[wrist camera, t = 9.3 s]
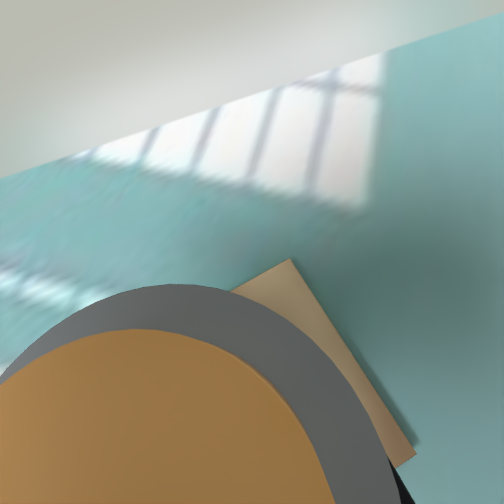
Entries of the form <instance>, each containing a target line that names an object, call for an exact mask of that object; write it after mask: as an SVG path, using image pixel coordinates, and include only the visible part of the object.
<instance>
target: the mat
mask: <svg viewBox="0 0 504 504" xmlns="http://www.w3.org/2000/svg"><path fill="white" fill-rule="evenodd" d="M230 292H231V293H235V294H238V295H241V296H244V297H246V298H248V299H250V300H253V301H255V302H257V303H259V304H262V305H264V306H266V307H267V308H269V309H271V310H272V311H274V312H276V313H277V314H279V315H281V316H282V317H284V318H285V319H287V320H289V321H290V322H291V323H292V324H294V325H295V326H296V327H297V328H298V329H300V330H301V331H302V332H303V333H305V334H306V335H307V336H308V337H310V338H311V339H312V340H313V341H314V342H315V343H316V344H317V345H318V346H319V347H320V349H321V350H322V351H323V352H324V353H325V354H326V355H327V356H328V357H329V358H330V359H331V360H332V361H333V362H334V364H335V365H336V366H337V368H338V369H339V370H340V372H341V373H342V374H343V376H344V377H345V378H346V379H347V381H348V382H349V383H350V385H351V386H352V388H353V389H354V391H355V393H356V394H357V396H358V398H359V400H360V401H361V403H362V405H363V406H364V408H365V410H366V411H367V413H368V415H369V416H370V419H371V421H372V423H373V425H374V427H375V429H376V432H377V434H378V436H379V438H380V440H381V443H382V445H383V447H384V449H385V452H386V454H387V456H388V457H389V459H390V461H391V463H392V464H393V466H394V468H397V467H398V466H400V465H401V464H403V463H404V462H406V461H407V460H409V459H410V458H412V457H413V456H415V455H416V454H417V453H416V452H415V450H414V449H413V447H412V446H411V444H410V443H409V441H408V440H407V438H406V436H405V435H404V433H403V432H402V430H401V429H400V427H399V426H398V424H397V423H396V421H395V420H394V418H393V416H392V415H391V413H390V412H389V410H388V409H387V407H386V406H385V404H384V403H383V401H382V400H381V398H380V396H379V395H378V393H377V392H376V390H375V389H374V387H373V386H372V384H371V383H370V381H369V380H368V378H367V376H366V375H365V373H364V372H363V370H362V369H361V367H360V366H359V364H358V363H357V361H356V360H355V358H354V356H353V355H352V353H351V352H350V350H349V349H348V347H347V346H346V344H345V343H344V341H343V340H342V338H341V336H340V335H339V333H338V332H337V330H336V329H335V327H334V326H333V324H332V323H331V321H330V320H329V318H328V316H327V315H326V313H325V312H324V310H323V309H322V307H321V306H320V304H319V303H318V301H317V300H316V298H315V296H314V295H313V293H312V292H311V290H310V289H309V287H308V286H307V284H306V283H305V281H304V280H303V278H302V276H301V275H300V273H299V272H298V270H297V269H296V267H295V266H294V264H293V263H292V261H291V260H290V258H289V259H287V260H285V261H283V262H282V263H280V264H278V265H276V266H275V267H273V268H271V269H269V270H267V271H266V272H264V273H262V274H260V275H258V276H257V277H255V278H253V279H251V280H250V281H248V282H246V283H244V284H242V285H241V286H239V287H237V288H235V289H234V290H232V291H230Z"/></svg>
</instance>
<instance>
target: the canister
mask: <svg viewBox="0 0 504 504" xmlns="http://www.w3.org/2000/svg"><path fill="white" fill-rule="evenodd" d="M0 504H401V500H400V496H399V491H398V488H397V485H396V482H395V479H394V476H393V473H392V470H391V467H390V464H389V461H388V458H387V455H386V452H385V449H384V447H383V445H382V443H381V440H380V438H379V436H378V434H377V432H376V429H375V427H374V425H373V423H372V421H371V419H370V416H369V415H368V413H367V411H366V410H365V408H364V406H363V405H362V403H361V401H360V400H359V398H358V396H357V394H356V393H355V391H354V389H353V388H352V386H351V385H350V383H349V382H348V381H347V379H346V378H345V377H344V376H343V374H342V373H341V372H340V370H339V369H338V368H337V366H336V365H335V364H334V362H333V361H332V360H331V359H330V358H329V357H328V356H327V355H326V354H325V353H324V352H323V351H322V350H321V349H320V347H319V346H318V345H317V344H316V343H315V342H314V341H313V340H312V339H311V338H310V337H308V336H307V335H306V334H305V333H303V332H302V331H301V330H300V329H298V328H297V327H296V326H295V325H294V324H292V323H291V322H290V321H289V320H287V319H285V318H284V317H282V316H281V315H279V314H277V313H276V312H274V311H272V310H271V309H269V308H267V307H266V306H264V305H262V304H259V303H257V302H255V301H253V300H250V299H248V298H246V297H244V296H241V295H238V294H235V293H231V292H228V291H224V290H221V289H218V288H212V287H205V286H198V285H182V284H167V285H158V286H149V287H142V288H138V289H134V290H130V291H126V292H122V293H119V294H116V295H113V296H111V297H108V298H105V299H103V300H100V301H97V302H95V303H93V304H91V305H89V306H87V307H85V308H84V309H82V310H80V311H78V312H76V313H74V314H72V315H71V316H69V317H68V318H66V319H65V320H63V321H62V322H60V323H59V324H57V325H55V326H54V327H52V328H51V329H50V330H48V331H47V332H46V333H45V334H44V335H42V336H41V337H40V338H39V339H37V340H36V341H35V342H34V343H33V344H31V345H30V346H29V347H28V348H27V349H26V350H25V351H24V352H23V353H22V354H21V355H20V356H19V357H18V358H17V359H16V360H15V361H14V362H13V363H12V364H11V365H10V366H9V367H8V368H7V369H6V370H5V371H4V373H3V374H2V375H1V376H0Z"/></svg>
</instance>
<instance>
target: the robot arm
mask: <svg viewBox="0 0 504 504" xmlns="http://www.w3.org/2000/svg"><path fill="white" fill-rule="evenodd" d="M386 455H387V454H386ZM387 458H388V461H389V464H390V467H391V470H392V473H393V476H394V479H395V482H396V485H397V488H398V491H399V496H400V500H401V504H415V502H414V500H413V499H412V497H411V495H410V493H409V492H408V490H407V488H406V487H405V485H404V483H403V481H402V480H401V478H400V476H399V475H398V473H397V471H396V469H395V468H394V466H393V464H392V463H391V461H390V459H389V457H388V456H387Z"/></svg>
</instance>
